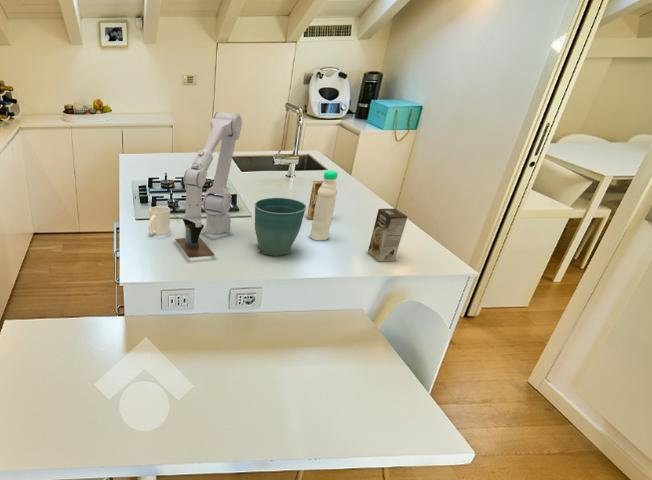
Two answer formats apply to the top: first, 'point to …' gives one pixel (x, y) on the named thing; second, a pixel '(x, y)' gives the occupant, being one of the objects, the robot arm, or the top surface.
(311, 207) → the candy box
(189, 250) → the cutting board
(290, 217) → the flower pot
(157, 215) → the mug
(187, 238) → the sugar pot
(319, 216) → the water bottle
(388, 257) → the coffee box
